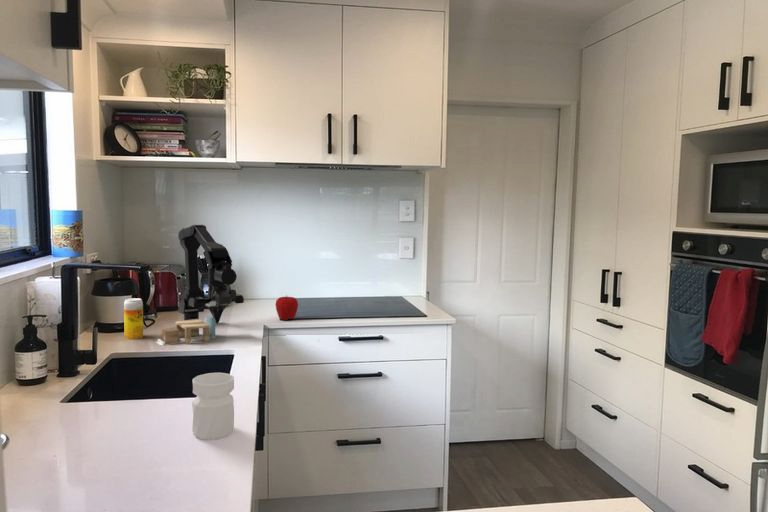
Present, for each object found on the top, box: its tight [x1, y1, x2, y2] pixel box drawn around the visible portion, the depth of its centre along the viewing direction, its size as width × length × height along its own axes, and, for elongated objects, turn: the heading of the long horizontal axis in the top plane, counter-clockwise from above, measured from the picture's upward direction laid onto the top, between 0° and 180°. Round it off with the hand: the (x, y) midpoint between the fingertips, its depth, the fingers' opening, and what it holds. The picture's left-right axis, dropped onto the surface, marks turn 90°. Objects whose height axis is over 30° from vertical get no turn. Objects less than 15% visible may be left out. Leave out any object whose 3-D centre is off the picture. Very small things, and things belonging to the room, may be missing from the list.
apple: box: [275, 295, 299, 321], centre depth 233 cm, size 10×10×11 cm
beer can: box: [123, 297, 144, 340], centre depth 191 cm, size 6×6×15 cm
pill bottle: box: [191, 372, 235, 441], centre depth 117 cm, size 9×9×12 cm
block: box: [160, 327, 180, 345], centre depth 186 cm, size 4×4×4 cm
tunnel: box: [174, 318, 210, 345], centre depth 191 cm, size 12×8×7 cm
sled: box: [155, 315, 216, 346], centre depth 189 cm, size 6×19×8 cm, turn 129°
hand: (216, 323), depth 196 cm, fingers closed
